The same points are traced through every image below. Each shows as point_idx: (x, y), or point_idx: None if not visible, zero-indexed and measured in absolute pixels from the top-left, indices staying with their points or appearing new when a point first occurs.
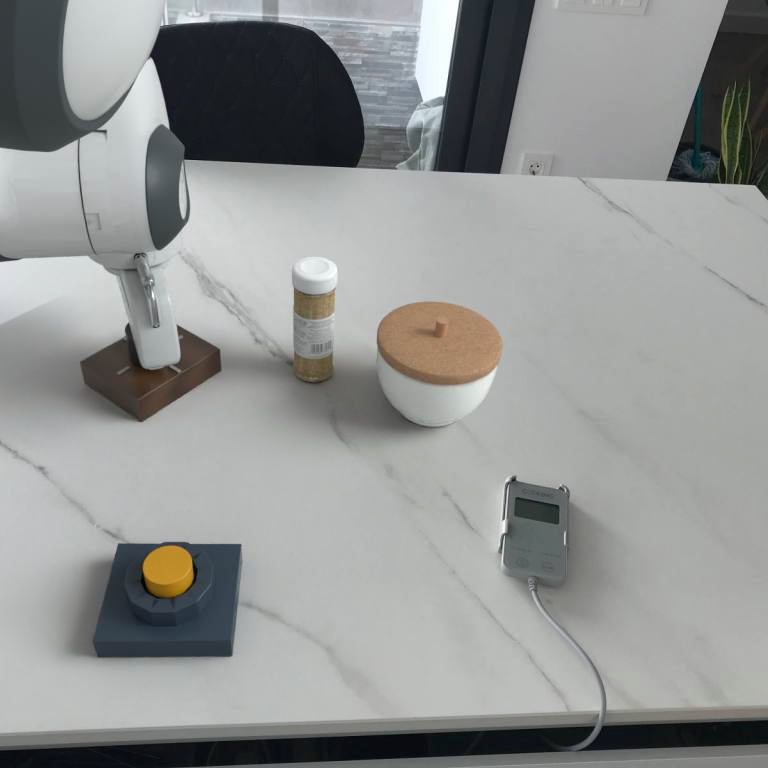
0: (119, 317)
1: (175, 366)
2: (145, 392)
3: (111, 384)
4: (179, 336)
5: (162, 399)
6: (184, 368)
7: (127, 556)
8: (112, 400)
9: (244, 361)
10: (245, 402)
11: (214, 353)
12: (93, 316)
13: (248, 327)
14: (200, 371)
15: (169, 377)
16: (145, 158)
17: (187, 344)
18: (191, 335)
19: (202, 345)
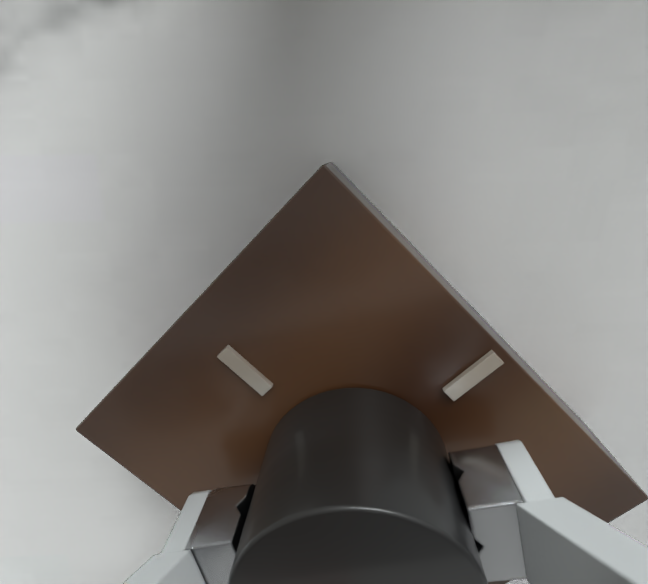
0: (42, 501)
1: (451, 373)
2: (610, 477)
3: None
4: (228, 363)
5: (545, 385)
6: (470, 335)
7: None
8: None
9: (269, 57)
10: (559, 50)
11: (354, 193)
12: (50, 561)
13: (17, 38)
14: (416, 253)
15: (528, 394)
16: None
17: (283, 325)
18: (209, 309)
19: (291, 256)
